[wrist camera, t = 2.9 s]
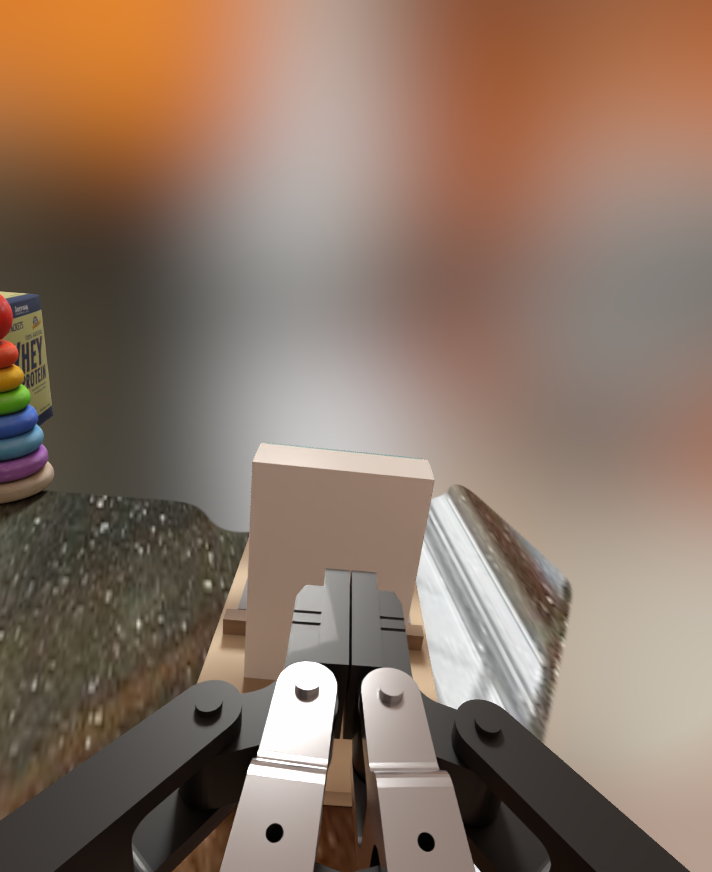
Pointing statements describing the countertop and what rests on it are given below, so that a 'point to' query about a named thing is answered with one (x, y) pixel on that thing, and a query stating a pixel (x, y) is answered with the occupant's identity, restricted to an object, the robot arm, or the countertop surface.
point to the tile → (327, 534)
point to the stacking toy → (18, 426)
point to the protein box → (30, 349)
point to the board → (229, 667)
